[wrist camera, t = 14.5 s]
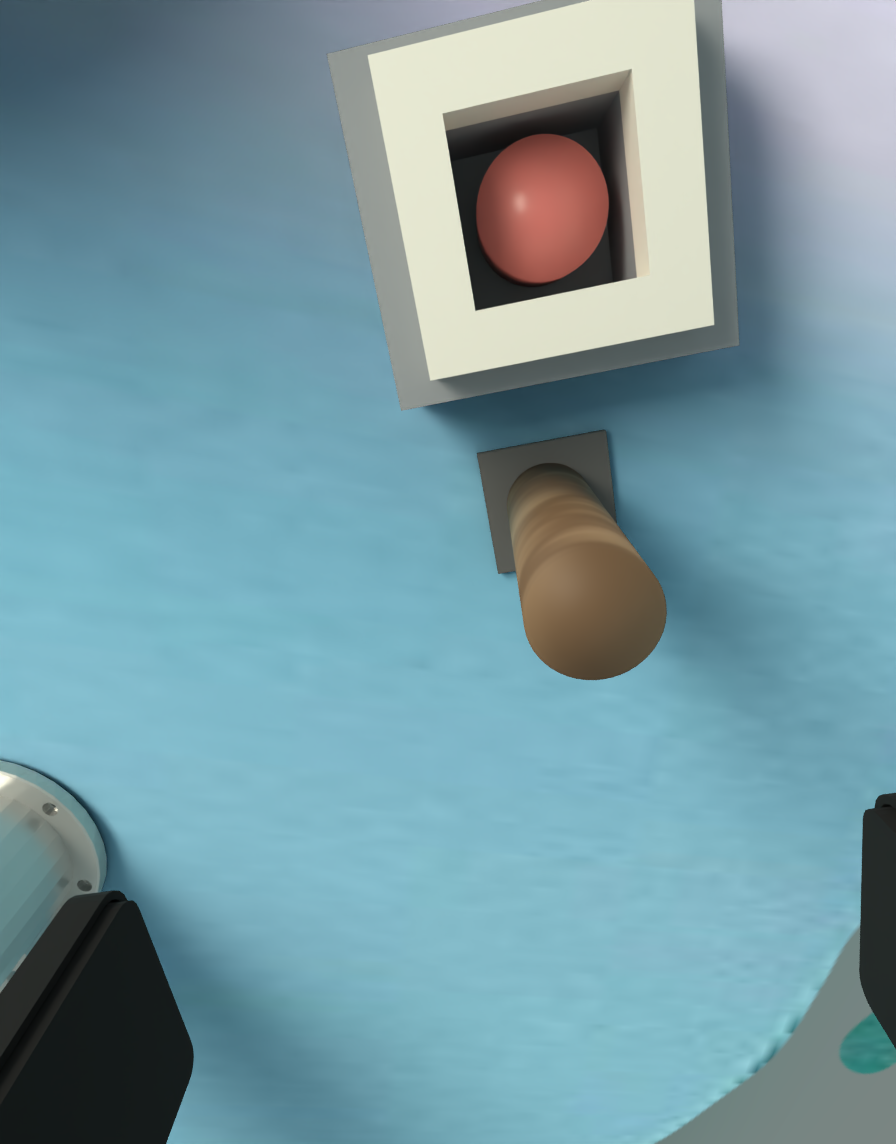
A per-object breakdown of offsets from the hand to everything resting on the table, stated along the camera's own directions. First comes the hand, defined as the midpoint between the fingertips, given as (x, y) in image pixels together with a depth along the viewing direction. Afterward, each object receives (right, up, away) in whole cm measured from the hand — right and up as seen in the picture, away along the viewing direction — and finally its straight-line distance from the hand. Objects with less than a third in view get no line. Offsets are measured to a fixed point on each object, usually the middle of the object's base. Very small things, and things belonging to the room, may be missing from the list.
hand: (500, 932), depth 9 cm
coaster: (+4, +8, +24) cm, 26 cm away
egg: (+3, +19, +19) cm, 27 cm away
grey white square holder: (+3, +19, +20) cm, 28 cm away
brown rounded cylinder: (+4, +8, +24) cm, 25 cm away
